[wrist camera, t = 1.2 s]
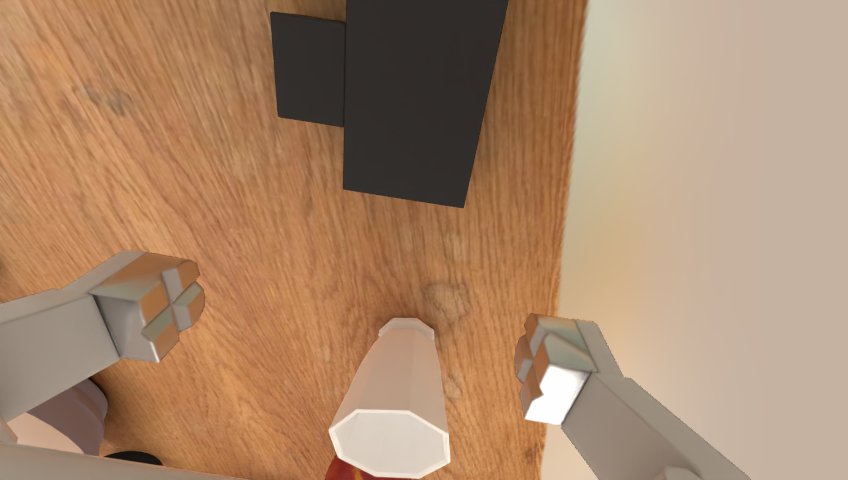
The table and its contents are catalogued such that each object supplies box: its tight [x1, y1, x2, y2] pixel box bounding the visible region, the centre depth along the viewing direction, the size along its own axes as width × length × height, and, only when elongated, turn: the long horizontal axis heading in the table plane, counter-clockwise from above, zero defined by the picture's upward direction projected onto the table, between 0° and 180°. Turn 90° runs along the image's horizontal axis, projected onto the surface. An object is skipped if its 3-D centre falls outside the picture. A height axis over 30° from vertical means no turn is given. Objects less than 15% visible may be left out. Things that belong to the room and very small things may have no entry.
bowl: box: [7, 378, 108, 456], centre depth 30 cm, size 14×14×8 cm
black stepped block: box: [270, 0, 508, 208], centre depth 16 cm, size 10×9×3 cm
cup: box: [328, 318, 450, 479], centre depth 23 cm, size 7×10×8 cm
